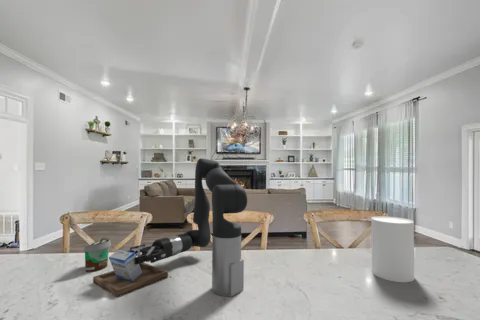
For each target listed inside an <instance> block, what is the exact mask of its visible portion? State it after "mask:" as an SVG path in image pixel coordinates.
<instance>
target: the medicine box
mask: <svg viewBox="0 0 480 320" xmlns="http://www.w3.org/2000/svg"><path fill="white" fill-rule="evenodd" d="M134 252H135V251H134ZM134 252H129V250H122V249H118V250H116V251H115V252H113V253H112V254H111V255H109V256H108V261H110V264H111V267H112V269H113V270H112V271H114V272H115V274H116V277H117V278H120V279H124V280H128V281H134V280H135V279H136V278H137V277H138V276H139V275H140V274H141V273H142V271H141V268H140V266H139V264H137V265H136V264H134V259H135V257H137V256H136V255H135V253H134Z"/></svg>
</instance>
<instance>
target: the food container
mask: <svg viewBox="0 0 480 320" xmlns="http://www.w3.org/2000/svg"><path fill="white" fill-rule="evenodd" d="M111 242H112V241H111V240H110V238H108V237H100V240H98V241H95V242H92V243H91V244H90V245H85V244H84V247H83V252H84V265H85V273H92V272H93V273H94V272H98V271H102V270H103V269H106V268H107V267H108V261H109V252H110V251H109V250H110V247H111V246H112V243H111Z"/></svg>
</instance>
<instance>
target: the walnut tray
mask: <svg viewBox="0 0 480 320" xmlns="http://www.w3.org/2000/svg"><path fill="white" fill-rule="evenodd" d="M139 266H140V268H141V271H142V273H141V274H140V275H139V276H138V277H137V278H136V279H135V280H134V281H128V280H124V279H120V278H117V277H116V274H115V272H114V270H112V271H108V272H105V273H101V274H98V275H95V276H93V277H92V278H93V279H92V283H93V284H94V285H95V286H97V287H99V288H101V289H102V290H105V291H106V292H108V293H109V294H111V295H112V296H115V297H116V298H119V297H122V296H125V295H127V294H130V293H133V292H135V291H137V290H140V289H143V288H145V287H148V286H150V285H152V284H155V283H158V282H160V281H162V280H165V279H167V278H168V277H169V274H168V273H169V272H168V271H167V270H164V269H161V268H158V267H157V266H153V265H151V264H148V263H147V262H143V263H140V264H139Z"/></svg>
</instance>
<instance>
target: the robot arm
mask: <svg viewBox="0 0 480 320" xmlns="http://www.w3.org/2000/svg"><path fill="white" fill-rule="evenodd" d="M194 172H195V173H194V207H193V215H192V223H194V224H195V225H197V228H198V229H191V230H188V231H185V232H184V233H180V234H175V235H170V236H166V237H163V238H159V239H158V238H157V239H155V240H154V241H153V243H152V244H151V245H146V244H139V245H135V246H130V247H129V250H128V251H129V252H134V253H135V255H136V257H135V259H134V264H136V265H137V264H140V263H143V262H144V263H149V262H150V263H151V264H154V263H156V262H159V261H162V260H165V259H168V258H171V257H174V256H177V255H178V254H180V253H184V252H187V251H189V250H190V249H192V247H197V248H206V247H207V246H208V245H209V244H210V241H211V239H212V244H211V246H212V247H211V248H212V251H211V254H212V255H211V257H212V259H211V262H212V263H211V267H212V268H211V291H212V292H213V293H214V294H215V295H218V296H225V297H234V296H235V295H237V294H239V293H240V292H242V291H243V290H244V283H245V282H244V277H245V276H244V272H245V269H244V268H245V267H244V263H245V261H244V259H243V258H242V227H241V225H240V224H238V223H235V222H232V221H229V220H227V219H225V217H224V214H227V215H228V214H238V213H241V212H242V213H243V211H245V210H246V208H247V205H248V195H247V191H246V190H245V188H244V187H243V185H241V184H239V183H238V182H236V181H234V180H233V179H232V178H231V176H229V175H228V174H227V173H226V172H225V170H224V169H223V168H222V166H221V164H220V163H219V161H217V160H213V159H209V158H199V159H198V160H197V162H196V163H195V170H194ZM203 179H205V184H206V186H207V188H208V190H209V191H210V193H211V204H210V201H209V198H208V196H207V194H206V192H205V189H204V186H203ZM210 205H211V206H210ZM210 210H211V211H212V232H211V227H210V222H209V221H210ZM211 233H212V235H211ZM211 237H212V238H211Z"/></svg>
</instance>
